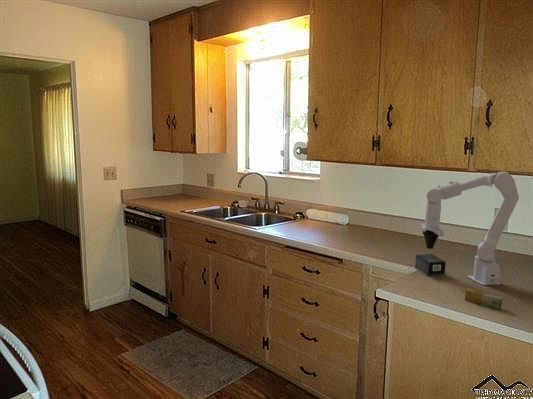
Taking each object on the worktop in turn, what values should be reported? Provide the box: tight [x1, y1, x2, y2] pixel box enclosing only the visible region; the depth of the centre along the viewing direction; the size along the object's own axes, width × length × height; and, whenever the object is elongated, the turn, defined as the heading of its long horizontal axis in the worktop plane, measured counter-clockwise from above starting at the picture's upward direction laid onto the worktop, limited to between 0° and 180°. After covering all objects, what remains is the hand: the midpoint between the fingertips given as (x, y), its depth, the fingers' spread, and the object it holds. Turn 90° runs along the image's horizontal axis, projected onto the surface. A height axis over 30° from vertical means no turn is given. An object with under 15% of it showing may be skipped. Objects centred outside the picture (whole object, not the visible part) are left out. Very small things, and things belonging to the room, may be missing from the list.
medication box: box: [464, 288, 505, 312], centre depth 145 cm, size 12×3×4 cm, turn 45°
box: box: [414, 253, 447, 276], centre depth 177 cm, size 8×6×11 cm
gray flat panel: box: [414, 266, 445, 276], centre depth 177 cm, size 9×8×1 cm
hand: (429, 248), depth 177 cm, fingers closed
